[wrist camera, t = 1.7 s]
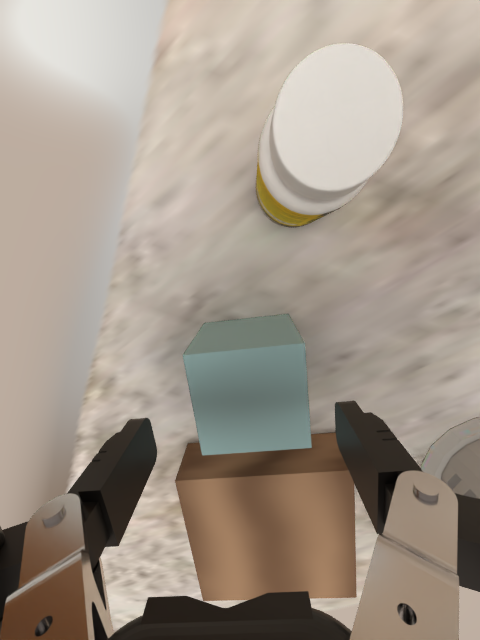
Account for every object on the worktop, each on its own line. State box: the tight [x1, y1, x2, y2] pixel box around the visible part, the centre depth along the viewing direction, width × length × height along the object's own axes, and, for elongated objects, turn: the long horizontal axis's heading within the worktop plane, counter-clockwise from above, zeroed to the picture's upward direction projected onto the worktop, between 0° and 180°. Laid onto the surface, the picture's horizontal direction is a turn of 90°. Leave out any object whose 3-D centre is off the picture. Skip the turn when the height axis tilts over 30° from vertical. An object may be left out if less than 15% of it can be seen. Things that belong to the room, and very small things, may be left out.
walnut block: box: [175, 433, 356, 601], centre depth 21 cm, size 12×12×4 cm
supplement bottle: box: [256, 43, 403, 227], centre depth 12 cm, size 5×5×8 cm
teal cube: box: [183, 314, 312, 455], centre depth 16 cm, size 6×6×6 cm
